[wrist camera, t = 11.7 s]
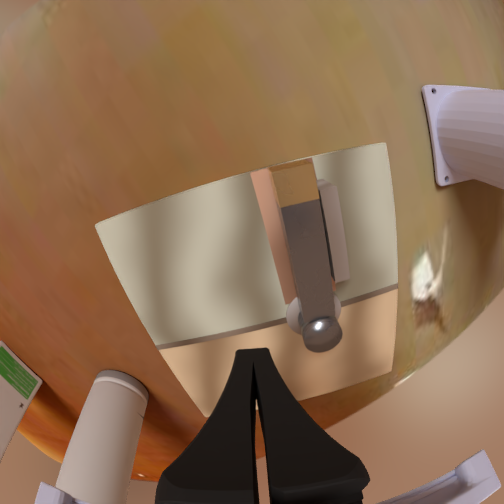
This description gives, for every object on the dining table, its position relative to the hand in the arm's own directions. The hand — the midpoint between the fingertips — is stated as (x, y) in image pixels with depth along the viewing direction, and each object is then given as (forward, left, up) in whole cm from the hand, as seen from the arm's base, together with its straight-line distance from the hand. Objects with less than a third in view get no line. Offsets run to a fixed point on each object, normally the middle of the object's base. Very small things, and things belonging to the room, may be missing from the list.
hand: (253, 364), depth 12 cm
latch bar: (-4, 0, -8) cm, 9 cm away
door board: (-1, +5, -9) cm, 11 cm away
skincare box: (+35, +6, -10) cm, 37 cm away
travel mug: (+17, +10, -10) cm, 22 cm away
